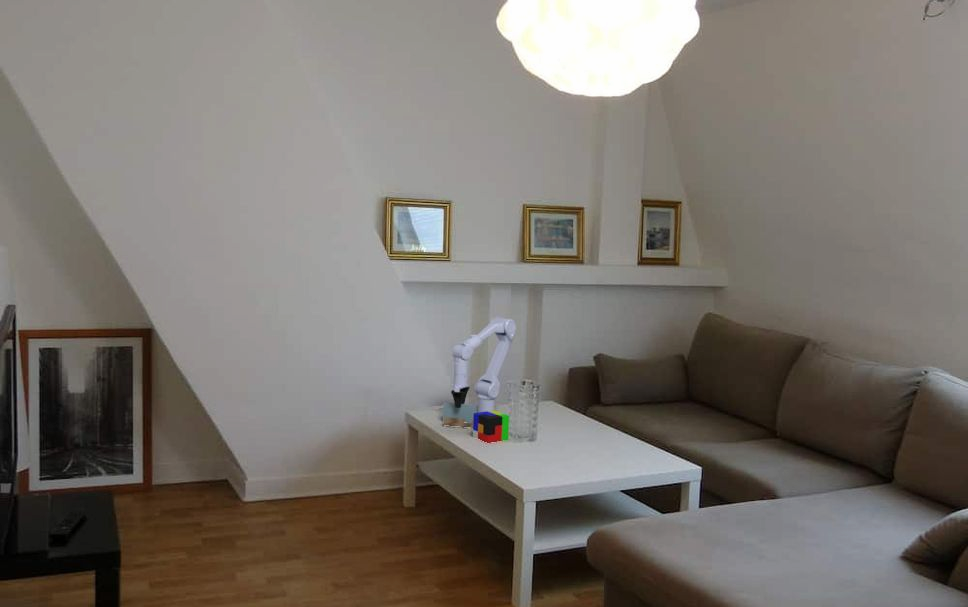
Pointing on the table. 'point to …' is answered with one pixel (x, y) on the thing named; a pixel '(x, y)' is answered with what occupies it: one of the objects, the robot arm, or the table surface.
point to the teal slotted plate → (459, 411)
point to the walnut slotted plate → (457, 422)
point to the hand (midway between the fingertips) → (459, 405)
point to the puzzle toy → (491, 426)
